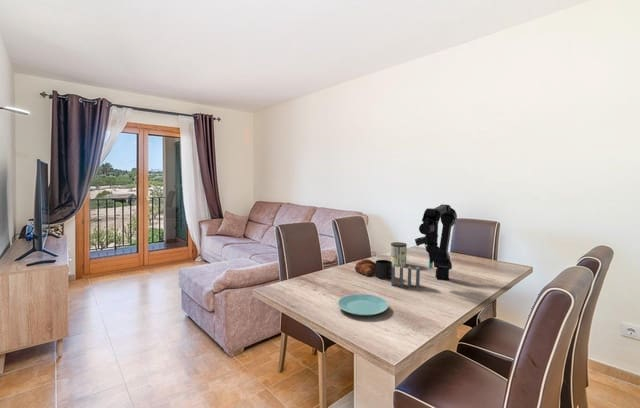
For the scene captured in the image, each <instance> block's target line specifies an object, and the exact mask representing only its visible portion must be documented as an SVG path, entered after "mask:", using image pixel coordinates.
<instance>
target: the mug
mask: <svg viewBox="0 0 640 408" xmlns="http://www.w3.org/2000/svg"><path fill="white" fill-rule="evenodd" d="M375 264H376V266H375V272H374V273H375V274H374V275H375V278H376V279H380V280H389V279H392V262H391V260H389V259H378V260H375Z"/></svg>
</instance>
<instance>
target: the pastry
mask: <svg viewBox="0 0 640 408" xmlns="http://www.w3.org/2000/svg"><path fill="white" fill-rule="evenodd" d="M375 266H376V262H374V261H372V260H370V259H363V258H362V259H361V260H359V261H358V262H357V263H356V264H355V266H354V270H355V272H356V273H358V274H361V275H363V276H365V277H371V276H372V275H373V274H374V273H375Z"/></svg>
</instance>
